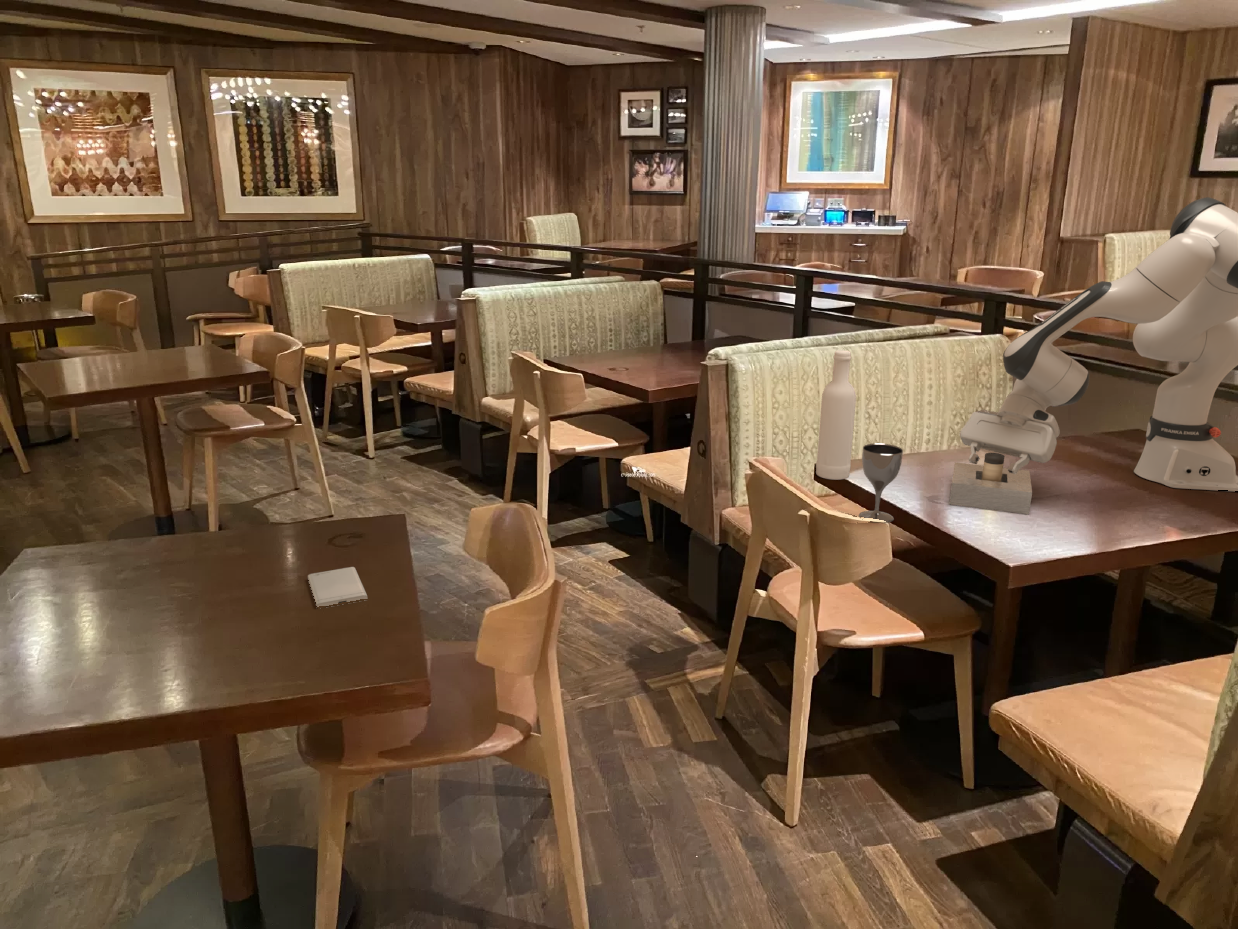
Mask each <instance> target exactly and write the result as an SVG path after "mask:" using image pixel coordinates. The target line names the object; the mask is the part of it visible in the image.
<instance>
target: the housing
mask: <svg viewBox="0 0 1238 929" xmlns="http://www.w3.org/2000/svg"><path fill="white" fill-rule="evenodd" d="M953 464H954V466H953V473H952V478H951V479H952V480H951V487H950V488H951V490H950V494H949V495H950V496H949V503H948V504H951V505H950V506H957V505H958V506H960V507H965V508H973V507H975V509H982V510H990V511H998V512H999V511H1000V512H1006V513H1015V514H1019V515H1020V514H1021V515H1029V514H1030V509H1031V504H1032V503H1031V501H1032V497H1033V496H1032V495H1033V489H1032V480H1031V473H1030V472H1031V471H1030V470H1027V469H1019V470H1018V472H1017V474H1013V473H1009V471H1008V467H1003V471H1002V478H1001V482H996V481H987V480H982V473H983V466H984V464H983V465H982V464H973V463H962V462H954V463H953Z"/></svg>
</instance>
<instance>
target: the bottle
mask: <svg viewBox="0 0 1238 929" xmlns="http://www.w3.org/2000/svg"><path fill="white" fill-rule="evenodd" d="M851 353H852V352H851V351H850V350H846V349H844V350H843V349H837V350H835V351H834V355H833V368H832V370H833V371H832V380H831V381H830V382H829V383H828V384H826V385H825V386H824V389H823V391H822V395H821V403H820V405H821V406H820V417H819V429H818V430H819V431H818V440H817V442H818V444H817V456H816V462H815V463H816V464H815V468H816V469H815V470H816V471H815V473H816V475H817V476H818V477H820V478H823V479H826V480H833V481H834V480H835V481H836V480H838V481H839V480H846V479H848V478H849V476H850V472H851V464H852V463H851V461H852V460H851V459H852V448H853V438H854V425H855V417H856V416H855V415H856V403H857V394H856V389H855V388H854V386H853V385H852V384H851V382H850V381H849V376H850V365H851V359H852V357H851V355H852V354H851Z"/></svg>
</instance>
